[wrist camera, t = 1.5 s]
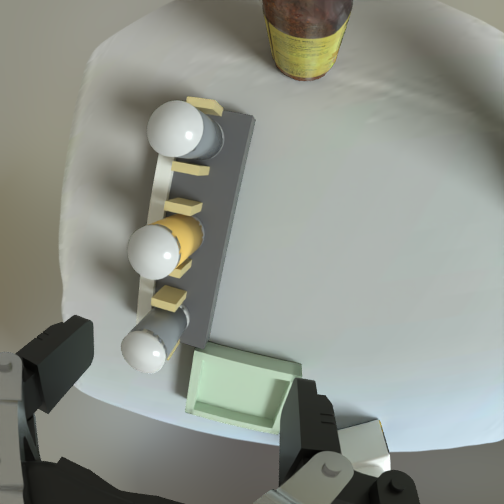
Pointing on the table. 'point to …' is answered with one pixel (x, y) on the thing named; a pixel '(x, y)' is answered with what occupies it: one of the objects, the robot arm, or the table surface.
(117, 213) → the table surface
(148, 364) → the cylinder
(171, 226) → the cylinder
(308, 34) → the sauce bottle
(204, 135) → the dome-capped grey cylinder
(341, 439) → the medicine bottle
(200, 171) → the fuse block
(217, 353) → the tray
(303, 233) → the table surface
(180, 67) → the table surface
